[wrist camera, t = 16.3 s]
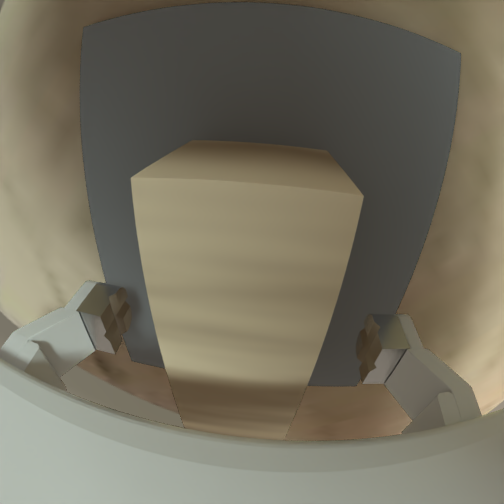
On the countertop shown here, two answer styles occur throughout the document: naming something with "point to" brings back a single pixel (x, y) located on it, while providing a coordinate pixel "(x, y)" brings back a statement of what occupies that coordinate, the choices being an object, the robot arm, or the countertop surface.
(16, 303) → the countertop surface
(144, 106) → the rubber mat
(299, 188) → the maple block
